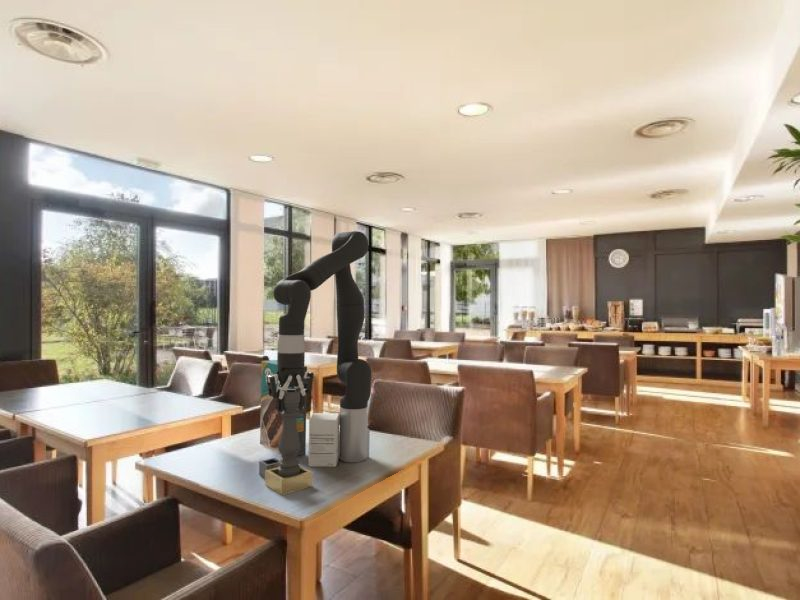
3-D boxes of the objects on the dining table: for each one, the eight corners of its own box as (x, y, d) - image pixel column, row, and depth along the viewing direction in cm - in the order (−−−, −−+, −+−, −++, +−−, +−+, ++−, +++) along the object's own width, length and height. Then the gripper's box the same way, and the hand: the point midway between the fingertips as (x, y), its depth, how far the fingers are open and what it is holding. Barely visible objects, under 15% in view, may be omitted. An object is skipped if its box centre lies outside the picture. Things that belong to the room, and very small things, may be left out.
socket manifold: (281, 469, 147) (281, 456, 147) (312, 486, 134) (312, 471, 134) (251, 476, 141) (251, 462, 141) (281, 495, 128) (281, 480, 128)
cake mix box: (260, 443, 173) (261, 361, 174) (275, 440, 177) (276, 359, 178) (289, 458, 157) (291, 367, 157) (305, 455, 161) (307, 366, 161)
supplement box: (312, 457, 159) (313, 412, 159) (339, 457, 159) (340, 412, 159) (307, 466, 150) (308, 419, 150) (336, 467, 150) (336, 419, 150)
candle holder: (304, 479, 135) (305, 390, 135) (285, 485, 130) (287, 393, 130) (291, 473, 139) (293, 387, 139) (273, 479, 134) (274, 390, 134)
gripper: (274, 353, 127) (273, 416, 127) (320, 350, 137) (319, 409, 137) (261, 351, 132) (260, 411, 132) (306, 348, 142) (305, 404, 142)
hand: (290, 410), depth 135 cm, fingers closed on candle holder, 5 cm apart
